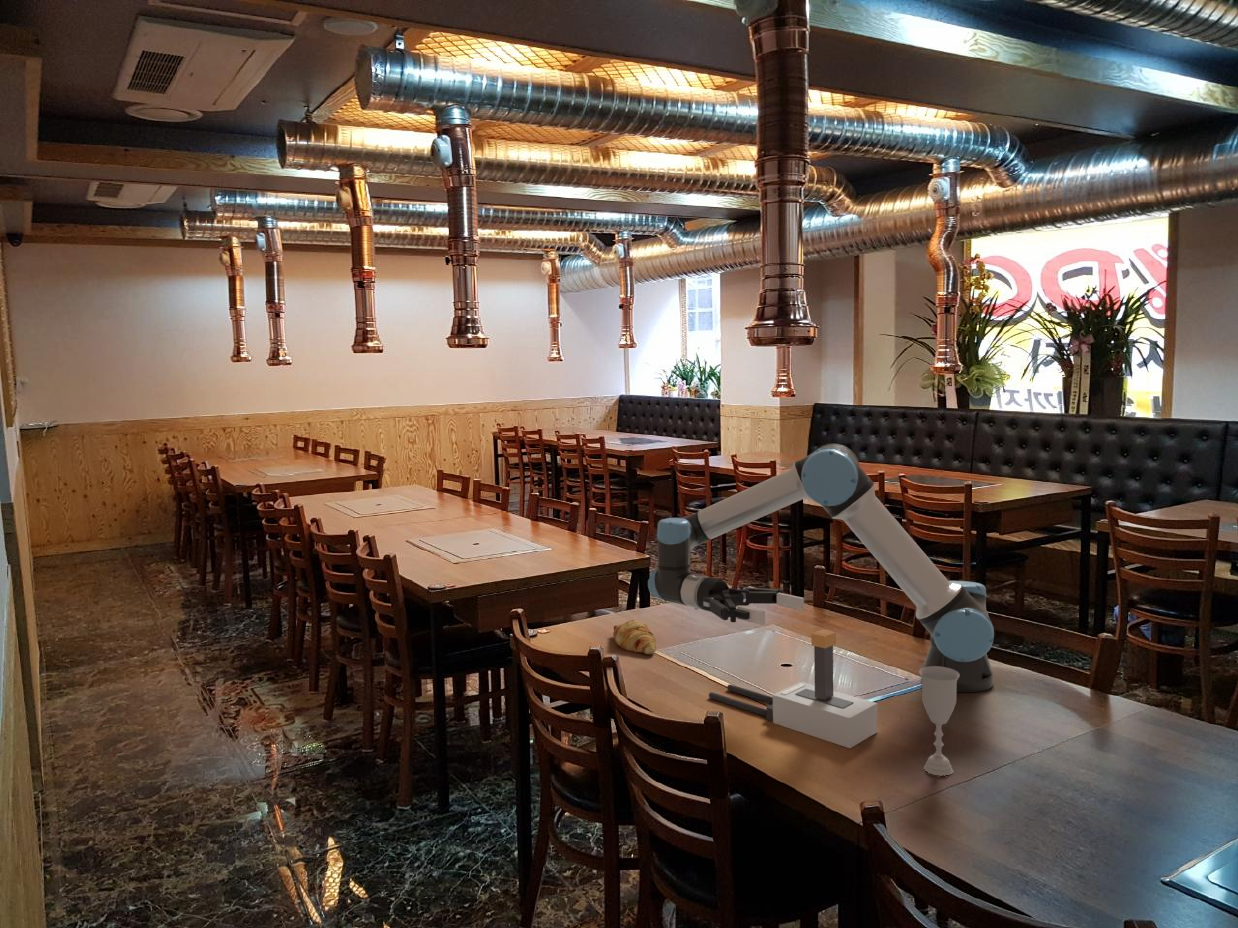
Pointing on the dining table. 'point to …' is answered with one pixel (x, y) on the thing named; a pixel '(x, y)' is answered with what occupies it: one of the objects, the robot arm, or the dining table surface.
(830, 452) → the robot arm
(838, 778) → the dining table surface
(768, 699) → the grey u-shaped fork
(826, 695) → the lever
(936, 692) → the chalice
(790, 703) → the box
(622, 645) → the croissant
